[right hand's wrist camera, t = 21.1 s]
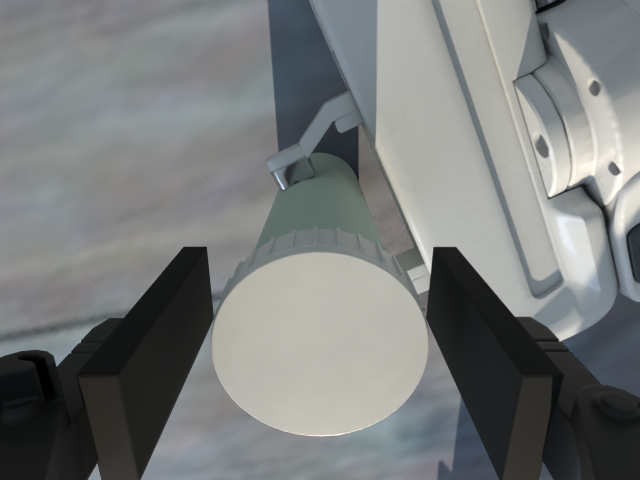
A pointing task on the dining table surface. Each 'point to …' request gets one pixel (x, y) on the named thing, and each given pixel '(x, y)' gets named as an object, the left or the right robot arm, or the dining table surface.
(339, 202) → the jar
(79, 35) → the dining table surface
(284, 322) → the lid
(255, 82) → the dining table surface
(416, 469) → the dining table surface
